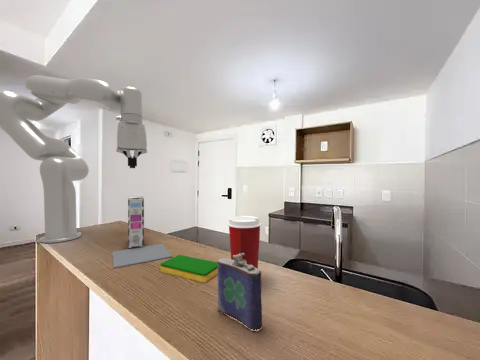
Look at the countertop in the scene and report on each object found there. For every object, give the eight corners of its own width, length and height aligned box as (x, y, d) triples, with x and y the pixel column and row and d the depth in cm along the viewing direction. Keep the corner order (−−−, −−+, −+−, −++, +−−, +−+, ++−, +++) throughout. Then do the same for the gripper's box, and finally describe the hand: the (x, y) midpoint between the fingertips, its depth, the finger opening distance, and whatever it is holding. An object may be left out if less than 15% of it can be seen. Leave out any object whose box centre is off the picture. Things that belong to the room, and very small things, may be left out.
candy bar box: (145, 247, 73) (144, 197, 73) (128, 249, 71) (127, 198, 71) (144, 239, 83) (143, 195, 83) (129, 241, 81) (128, 196, 81)
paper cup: (264, 273, 53) (263, 216, 53) (258, 289, 46) (257, 222, 45) (233, 270, 55) (232, 214, 55) (222, 285, 48) (222, 220, 48)
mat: (112, 252, 69) (112, 251, 69) (162, 244, 77) (162, 243, 77) (113, 268, 57) (113, 267, 57) (172, 257, 65) (172, 256, 65)
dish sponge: (205, 285, 49) (204, 274, 49) (159, 273, 55) (159, 263, 55) (221, 272, 55) (221, 262, 55) (179, 262, 62) (179, 254, 61)
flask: (214, 310, 39) (214, 249, 39) (226, 303, 41) (226, 245, 41) (255, 335, 33) (255, 263, 33) (267, 325, 35) (267, 258, 35)
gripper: (109, 116, 79) (110, 167, 79) (153, 121, 86) (154, 168, 87) (109, 120, 85) (110, 168, 85) (150, 124, 93) (151, 168, 93)
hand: (132, 168), depth 86 cm, fingers closed
